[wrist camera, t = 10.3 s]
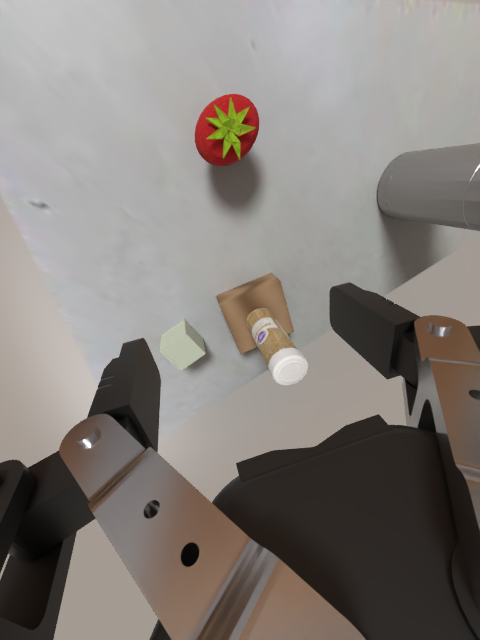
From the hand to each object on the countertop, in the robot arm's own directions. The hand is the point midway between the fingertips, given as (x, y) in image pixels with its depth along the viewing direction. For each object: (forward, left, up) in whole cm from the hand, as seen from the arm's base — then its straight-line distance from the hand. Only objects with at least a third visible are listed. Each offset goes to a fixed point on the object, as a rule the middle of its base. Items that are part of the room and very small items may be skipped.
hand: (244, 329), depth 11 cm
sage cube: (+6, +17, -30) cm, 36 cm away
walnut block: (-7, +15, -30) cm, 35 cm away
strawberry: (-6, -10, -31) cm, 32 cm away
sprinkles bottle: (-7, +15, -27) cm, 31 cm away
